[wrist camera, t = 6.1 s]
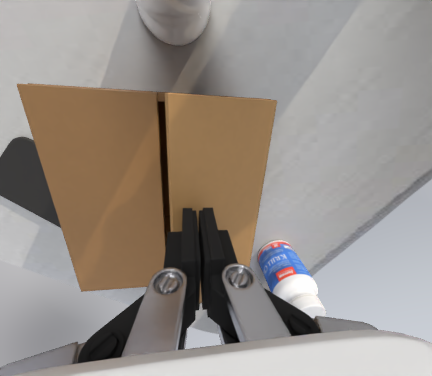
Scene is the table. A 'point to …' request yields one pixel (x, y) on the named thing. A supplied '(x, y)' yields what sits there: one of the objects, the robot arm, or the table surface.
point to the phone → (26, 179)
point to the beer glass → (175, 19)
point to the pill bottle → (289, 277)
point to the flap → (218, 161)
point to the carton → (105, 178)
